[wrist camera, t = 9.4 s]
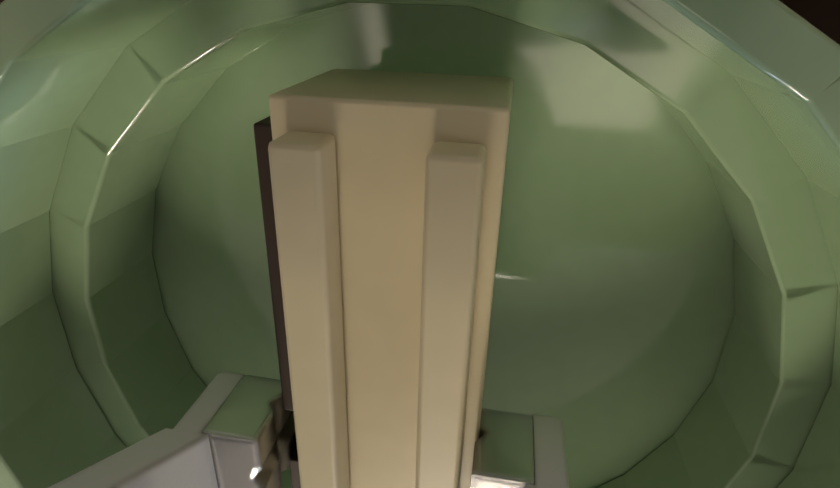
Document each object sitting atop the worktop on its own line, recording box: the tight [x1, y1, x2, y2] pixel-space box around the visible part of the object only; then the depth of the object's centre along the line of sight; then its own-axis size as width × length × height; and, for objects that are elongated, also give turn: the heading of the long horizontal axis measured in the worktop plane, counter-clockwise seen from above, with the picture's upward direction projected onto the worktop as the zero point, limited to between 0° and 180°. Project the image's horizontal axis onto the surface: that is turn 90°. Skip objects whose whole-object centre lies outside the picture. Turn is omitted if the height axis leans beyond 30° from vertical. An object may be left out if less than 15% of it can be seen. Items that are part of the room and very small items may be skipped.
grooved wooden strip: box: [253, 69, 513, 488], centre depth 10 cm, size 12×4×4 cm, turn 179°
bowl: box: [0, 0, 840, 488], centre depth 12 cm, size 17×17×6 cm
